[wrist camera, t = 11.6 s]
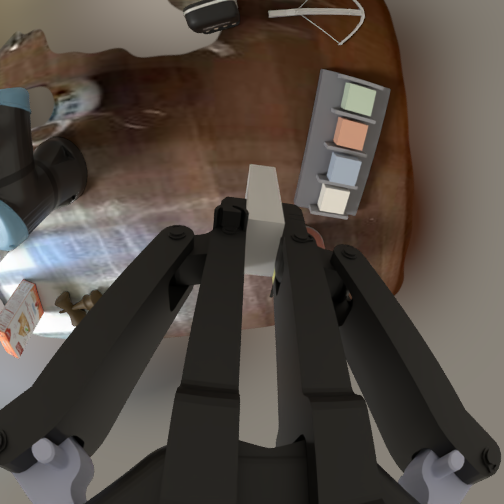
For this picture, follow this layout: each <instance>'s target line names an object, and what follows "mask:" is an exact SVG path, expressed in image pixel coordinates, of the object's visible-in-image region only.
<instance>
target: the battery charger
mask: <svg viewBox="0 0 504 504" xmlns="http://www.w3.org/2000/svg"><path fill="white" fill-rule="evenodd" d="M183 12H184V13H183V14H184V17H185V18H186V21H187V24H188V26H189V28H190V29H192V30H193V31H194V32H196V33H204V34H210V33H214V32H217V31H220V30H224V29H228V28H231V27H235V26H237V25H238V24H239V22H240V14H239V11H238V6H237V3H236V0H203V1H200V2H197V3H194V4H191V5H189V6H187V7H185V8H184V10H183Z"/></svg>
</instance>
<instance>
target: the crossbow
mask: <svg viewBox="0 0 504 504" xmlns="http://www.w3.org/2000/svg"><path fill="white" fill-rule="evenodd" d="M306 1H307V0H306ZM306 1H305V2H306ZM353 1H354V2H355V3H356V4H357V5H358V7H359V9H360V10H354V9H335V8H303V9H288V10H273V11H268V15H269V18H273V17H284V16H296V15H301V16H302V15H358V16H361V20H360V23H359V24H358V25H357V27H356V28H355V29H354V30H353V31H352V32H351V33H350V34H349V35H348V37H346V38H345V39H344V40H343V41H341V42H340V43H339V42H338V41H337V42H338V43H339V44H338V45H342V44H343V42H345V41H346V40H347V39H348V38H350V37H351V36H352V35H353V34H354V33H355V32H356V31H357V30H358V28H359V27H360V26H361V24H362V23H363V20H364V18H365V14H364V9H363V8H362V7H361V5H360V4H359V3H358V2H357V1H356V0H353ZM305 2H304V3H305ZM304 3H303V4H304ZM303 4H302V5H303ZM303 17H304V16H303ZM304 18H305V17H304ZM306 19H307V18H306ZM307 20H308V19H307ZM309 21H310V20H309ZM310 22H311V21H310ZM311 23H312V22H311ZM313 24H314V23H313ZM314 25H315V24H314ZM316 26H317V25H316ZM317 27H318V26H317ZM318 28H319V27H318ZM320 29H321V28H320ZM321 30H322V29H321ZM322 31H323V30H322ZM324 32H325V31H324ZM325 33H326V32H325ZM326 34H327V33H326ZM328 35H329V34H328ZM329 36H330V35H329ZM330 37H331V36H330ZM333 39H334V38H333ZM334 40H335V39H334ZM335 41H336V40H335Z"/></svg>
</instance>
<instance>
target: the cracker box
mask: <svg viewBox="0 0 504 504" xmlns="http://www.w3.org/2000/svg"><path fill="white" fill-rule="evenodd" d="M43 313H44V312H43V309H42V306H41V302H40V299H39V296H38V292H37V289H36V285H35V284H33V283H31V282H28V281H26V280H24V279H23V280H22V282H21V283H20V284H19V286H18V287H17V289H16V290H15V292H14V293H13V294H12V296H11V297H10V299H9V300H8V302H7V303H6V305H5V306H4V308H3V310H2V311H1V313H0V341H1V343H2V345H3V346H4V348H5V350H6V351H7V353H9V354H11V355H13V356H14V357H16V358H20V356H21V354H22V352H23V350H24V348H25V346H26V344H27V342H28V340H29V338H30V336H31V334H32V333H33V331H34V329H35V327H36V325H37V324H38V322H39V320H40V318H41V316H42V315H43Z"/></svg>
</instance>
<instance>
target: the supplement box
mask: <svg viewBox="0 0 504 504" xmlns="http://www.w3.org/2000/svg"><path fill="white" fill-rule="evenodd" d="M7 253H8V252H7V251H3V250H0V262H1V260H2V259H3V258H4V257H5V256H6V255H7Z"/></svg>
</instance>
